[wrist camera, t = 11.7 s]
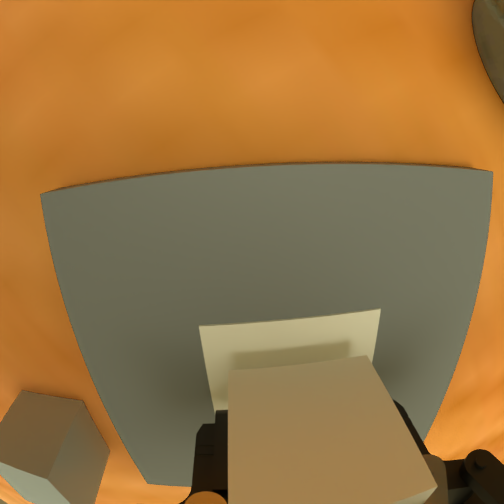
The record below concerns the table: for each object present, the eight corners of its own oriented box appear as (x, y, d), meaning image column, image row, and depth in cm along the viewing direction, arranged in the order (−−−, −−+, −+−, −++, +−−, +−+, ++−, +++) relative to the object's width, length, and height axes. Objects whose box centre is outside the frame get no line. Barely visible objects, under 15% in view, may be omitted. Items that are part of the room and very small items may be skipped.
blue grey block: (22, 389, 14) (-19, 453, 9) (83, 400, 15) (47, 479, 9) (52, 439, 16) (25, 499, 10) (110, 450, 16) (89, 521, 11)
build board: (59, 188, 11) (38, 194, 9) (472, 167, 11) (494, 172, 10) (150, 466, 17) (147, 484, 15) (410, 438, 17) (418, 453, 16)
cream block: (228, 370, 10) (228, 529, 5) (366, 354, 11) (437, 486, 5) (239, 450, 12) (245, 567, 6) (348, 436, 12) (385, 543, 6)
